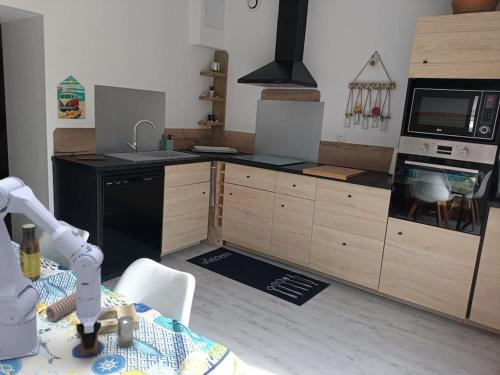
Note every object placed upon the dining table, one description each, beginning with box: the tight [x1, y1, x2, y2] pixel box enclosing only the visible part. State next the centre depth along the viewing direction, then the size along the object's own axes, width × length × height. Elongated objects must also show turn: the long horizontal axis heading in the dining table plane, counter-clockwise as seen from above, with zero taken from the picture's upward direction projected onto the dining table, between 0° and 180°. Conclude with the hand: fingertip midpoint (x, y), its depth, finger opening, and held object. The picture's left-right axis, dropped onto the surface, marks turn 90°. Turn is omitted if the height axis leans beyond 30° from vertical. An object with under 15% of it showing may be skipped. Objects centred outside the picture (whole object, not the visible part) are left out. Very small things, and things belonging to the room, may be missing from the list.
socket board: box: [76, 303, 139, 339], centre depth 110 cm, size 16×10×2 cm, turn 113°
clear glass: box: [116, 316, 134, 349], centre depth 102 cm, size 4×4×7 cm
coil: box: [45, 291, 77, 323], centre depth 118 cm, size 5×5×18 cm
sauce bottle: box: [18, 223, 41, 282], centre depth 132 cm, size 6×6×20 cm
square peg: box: [80, 321, 99, 356], centre depth 98 cm, size 4×4×7 cm
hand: (89, 342), depth 98 cm, fingers closed on square peg, 4 cm apart
